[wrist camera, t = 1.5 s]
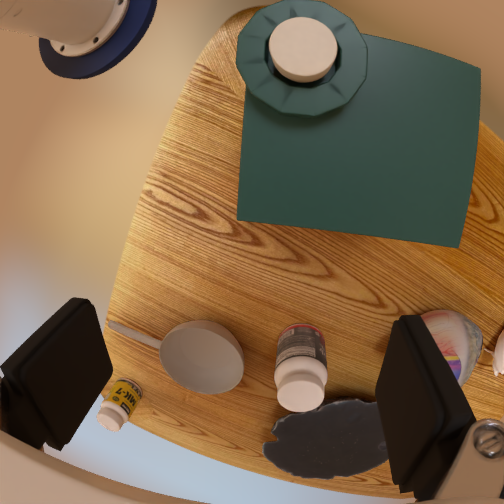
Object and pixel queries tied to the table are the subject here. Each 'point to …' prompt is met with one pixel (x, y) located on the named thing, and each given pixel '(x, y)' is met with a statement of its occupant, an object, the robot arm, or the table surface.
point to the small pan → (196, 355)
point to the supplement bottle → (119, 404)
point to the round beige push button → (302, 49)
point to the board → (329, 440)
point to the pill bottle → (301, 368)
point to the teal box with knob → (357, 135)
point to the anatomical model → (455, 340)
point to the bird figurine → (498, 355)
